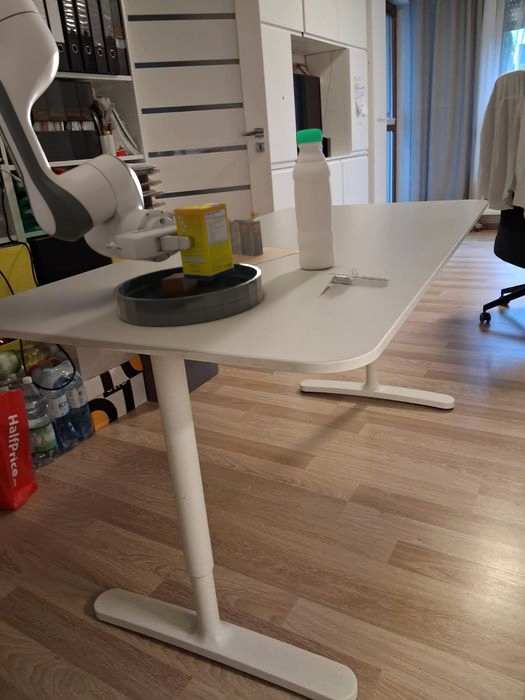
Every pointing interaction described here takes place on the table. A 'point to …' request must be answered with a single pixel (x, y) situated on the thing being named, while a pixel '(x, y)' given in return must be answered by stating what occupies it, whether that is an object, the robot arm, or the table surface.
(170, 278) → the block
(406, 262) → the table surface
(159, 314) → the bowl
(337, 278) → the picture light
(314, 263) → the water bottle
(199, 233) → the supplement box
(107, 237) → the robot arm
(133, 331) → the table surface
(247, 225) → the architectural model on board
